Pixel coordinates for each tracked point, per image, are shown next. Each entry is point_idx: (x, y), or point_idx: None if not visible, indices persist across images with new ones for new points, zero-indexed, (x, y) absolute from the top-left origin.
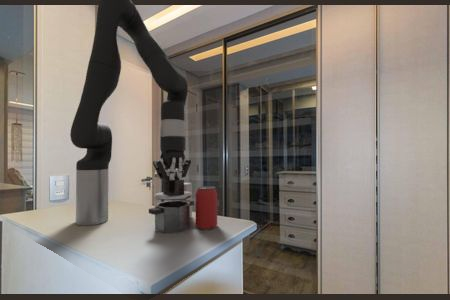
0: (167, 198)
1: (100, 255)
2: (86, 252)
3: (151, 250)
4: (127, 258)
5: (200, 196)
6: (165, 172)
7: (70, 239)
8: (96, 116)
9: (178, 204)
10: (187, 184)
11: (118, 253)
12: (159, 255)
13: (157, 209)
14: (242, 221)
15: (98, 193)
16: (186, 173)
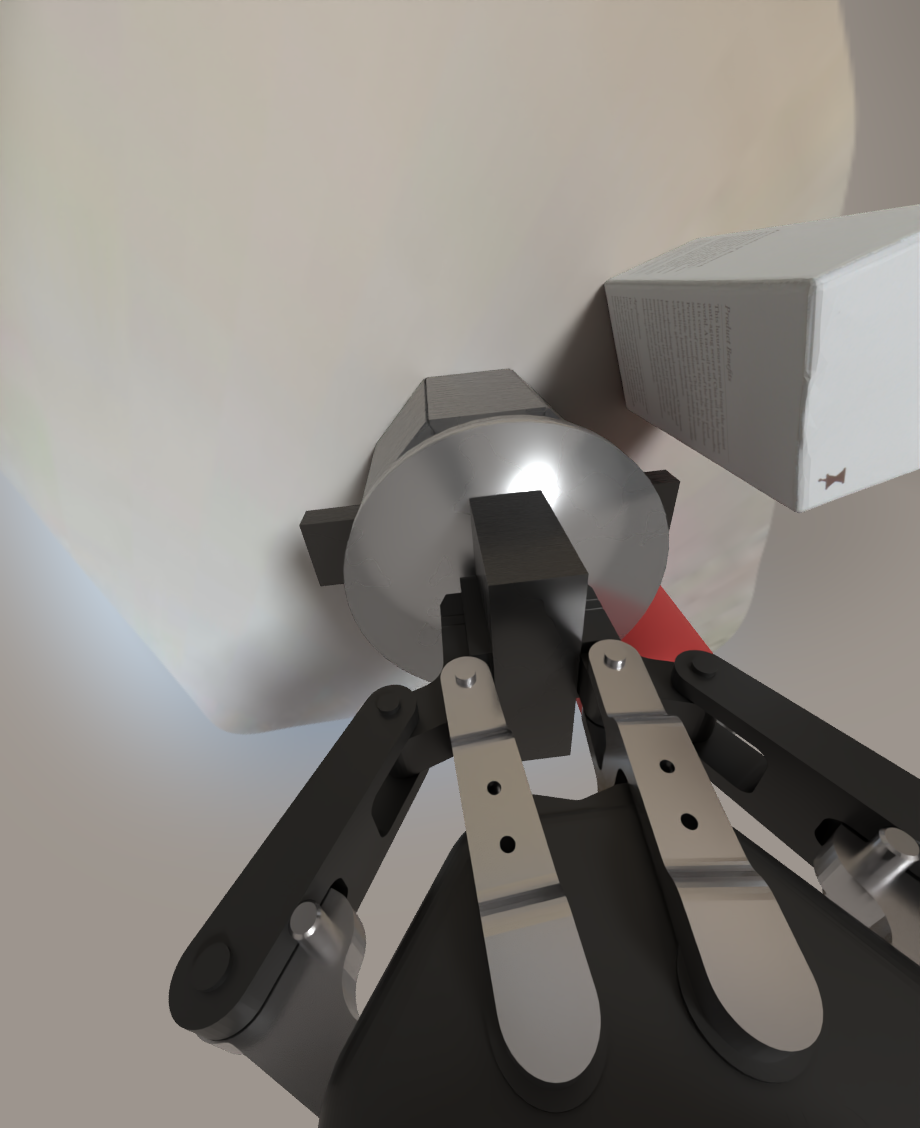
0: (390, 655)
1: (86, 550)
2: (14, 484)
3: (273, 622)
4: (185, 625)
5: (580, 710)
6: (392, 824)
7: None
8: None
9: None
10: (823, 502)
11: (157, 576)
12: (283, 661)
13: (341, 577)
14: (723, 621)
15: None
16: (723, 744)
